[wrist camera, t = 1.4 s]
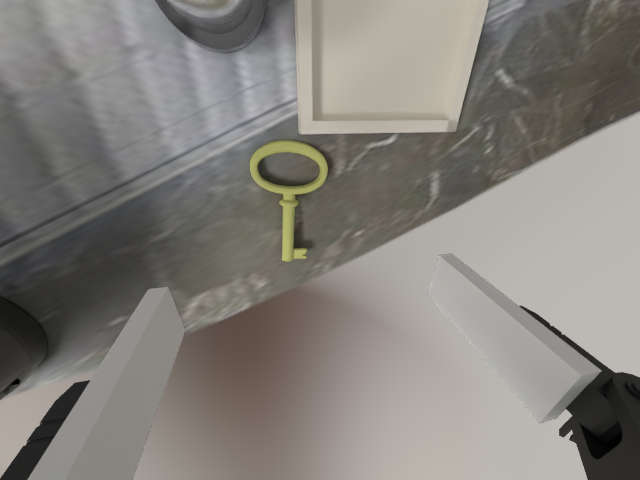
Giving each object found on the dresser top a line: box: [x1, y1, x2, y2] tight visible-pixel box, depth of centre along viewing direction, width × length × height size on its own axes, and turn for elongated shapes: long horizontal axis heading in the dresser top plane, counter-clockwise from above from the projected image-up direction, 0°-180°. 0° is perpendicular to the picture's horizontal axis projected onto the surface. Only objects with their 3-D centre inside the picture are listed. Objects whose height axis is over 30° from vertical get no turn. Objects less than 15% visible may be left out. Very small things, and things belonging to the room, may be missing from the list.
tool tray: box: [294, 0, 489, 134], centre depth 18 cm, size 15×17×2 cm
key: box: [250, 140, 328, 262], centre depth 24 cm, size 7×12×2 cm, turn 13°
